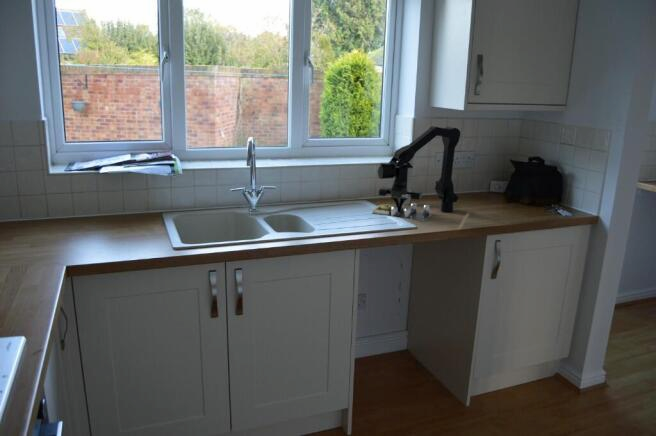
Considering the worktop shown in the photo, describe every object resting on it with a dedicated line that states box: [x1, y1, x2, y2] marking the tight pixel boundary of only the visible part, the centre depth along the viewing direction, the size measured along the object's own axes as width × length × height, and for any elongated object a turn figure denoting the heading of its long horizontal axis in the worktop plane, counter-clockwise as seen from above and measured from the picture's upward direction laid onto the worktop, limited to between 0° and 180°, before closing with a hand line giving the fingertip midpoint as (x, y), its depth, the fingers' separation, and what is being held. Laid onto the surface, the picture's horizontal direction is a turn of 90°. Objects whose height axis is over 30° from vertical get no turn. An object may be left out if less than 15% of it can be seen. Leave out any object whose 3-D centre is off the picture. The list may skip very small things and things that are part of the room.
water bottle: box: [404, 157, 414, 206], centre depth 256 cm, size 9×8×25 cm
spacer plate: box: [371, 202, 433, 222], centre depth 237 cm, size 13×25×5 cm, turn 68°
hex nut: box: [380, 203, 394, 213], centre depth 240 cm, size 5×6×3 cm
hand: (399, 211), depth 238 cm, fingers closed
